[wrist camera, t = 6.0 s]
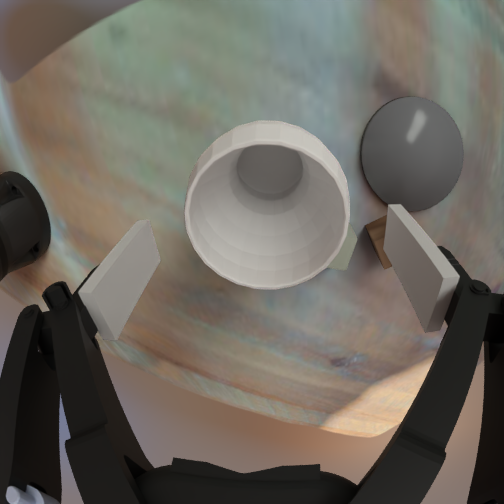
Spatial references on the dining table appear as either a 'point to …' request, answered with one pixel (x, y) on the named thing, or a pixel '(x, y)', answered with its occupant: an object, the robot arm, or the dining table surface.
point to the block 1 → (344, 251)
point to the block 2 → (379, 239)
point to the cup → (267, 205)
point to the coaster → (412, 153)
